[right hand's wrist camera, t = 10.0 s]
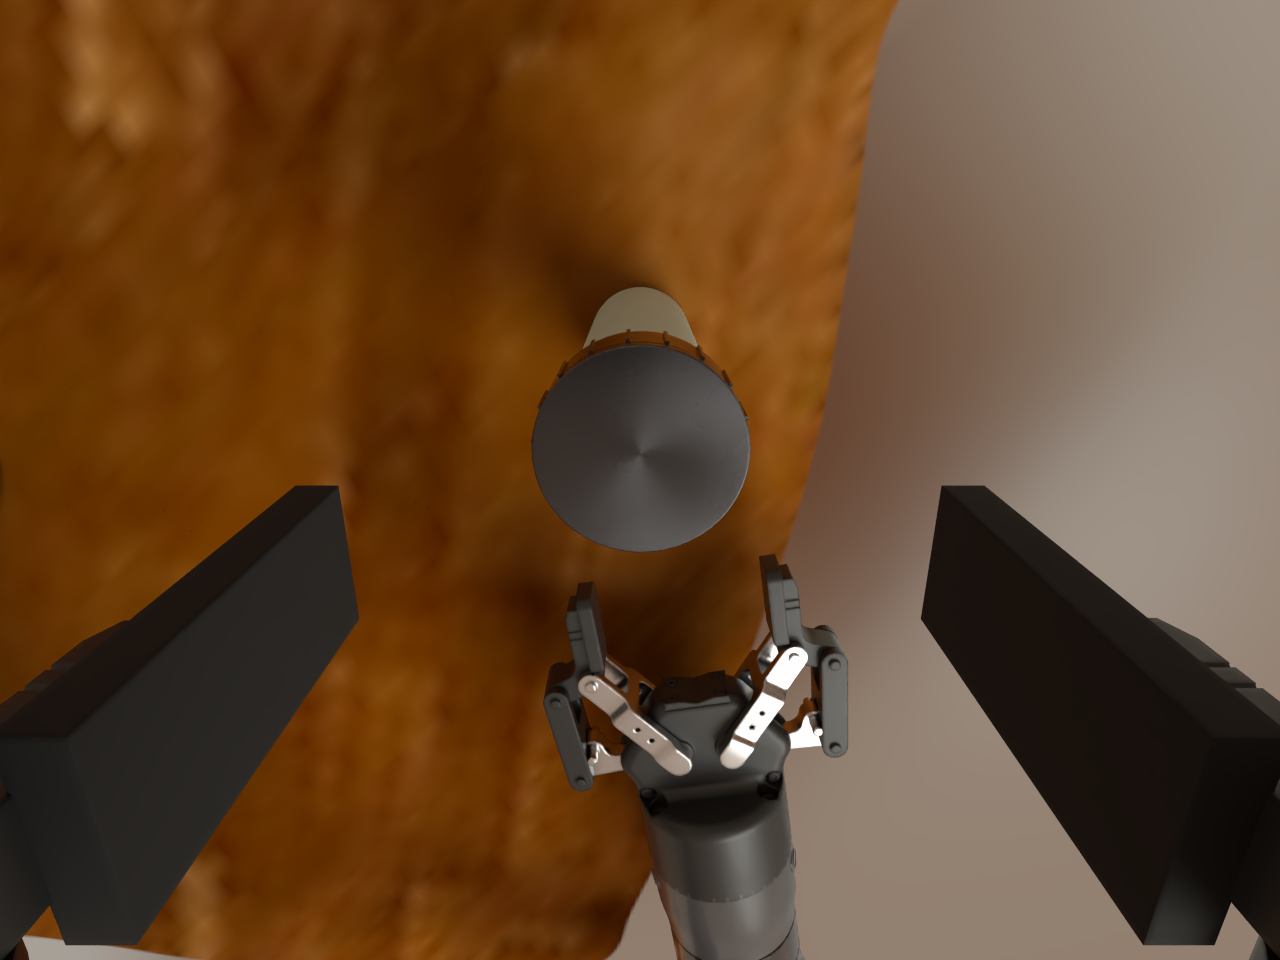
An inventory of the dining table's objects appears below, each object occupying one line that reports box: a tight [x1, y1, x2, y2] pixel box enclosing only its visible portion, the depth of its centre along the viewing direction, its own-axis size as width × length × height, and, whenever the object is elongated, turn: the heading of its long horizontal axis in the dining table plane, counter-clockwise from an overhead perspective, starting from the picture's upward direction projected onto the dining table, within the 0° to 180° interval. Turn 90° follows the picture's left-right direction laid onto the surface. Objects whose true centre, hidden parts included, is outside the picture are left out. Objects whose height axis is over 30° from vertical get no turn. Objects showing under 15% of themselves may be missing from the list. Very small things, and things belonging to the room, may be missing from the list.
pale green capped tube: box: [583, 287, 697, 349], centre depth 27 cm, size 5×5×17 cm
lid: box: [531, 329, 751, 552], centre depth 20 cm, size 6×6×2 cm
